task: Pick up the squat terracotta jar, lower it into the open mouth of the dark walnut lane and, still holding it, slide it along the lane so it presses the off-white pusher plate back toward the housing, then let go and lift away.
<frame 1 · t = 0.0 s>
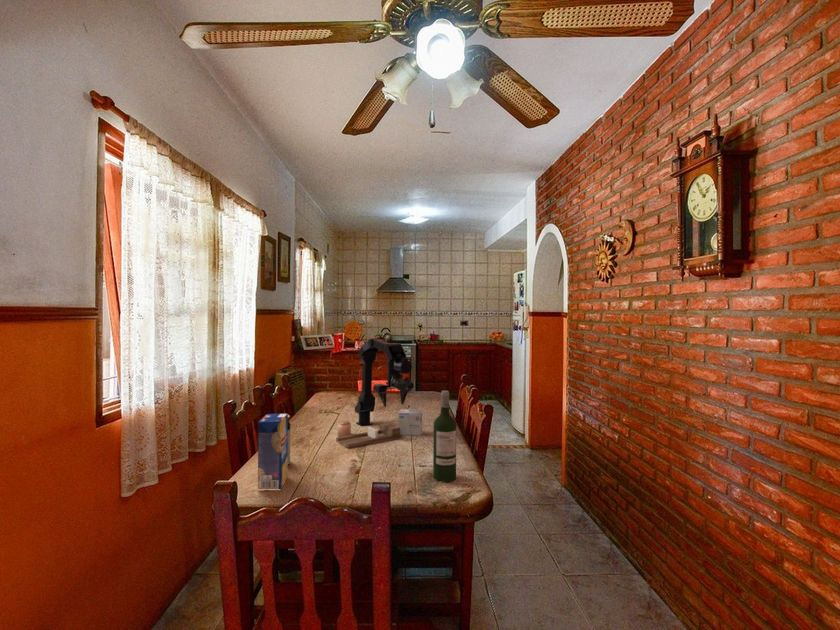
hand: (393, 405, 192), 15 cm above the table, tool pointing down, fingers open, 9 cm apart
white carton: (410, 434, 199), on the table
wine bottle: (444, 478, 146), on the table
lane: (368, 439, 188), on the table
travel mug: (279, 465, 157), on the table
pusher: (372, 433, 189), point 3 cm above the table, slide at 0.0 cm
jar: (344, 435, 195), on the table
beverage box: (273, 484, 140), on the table
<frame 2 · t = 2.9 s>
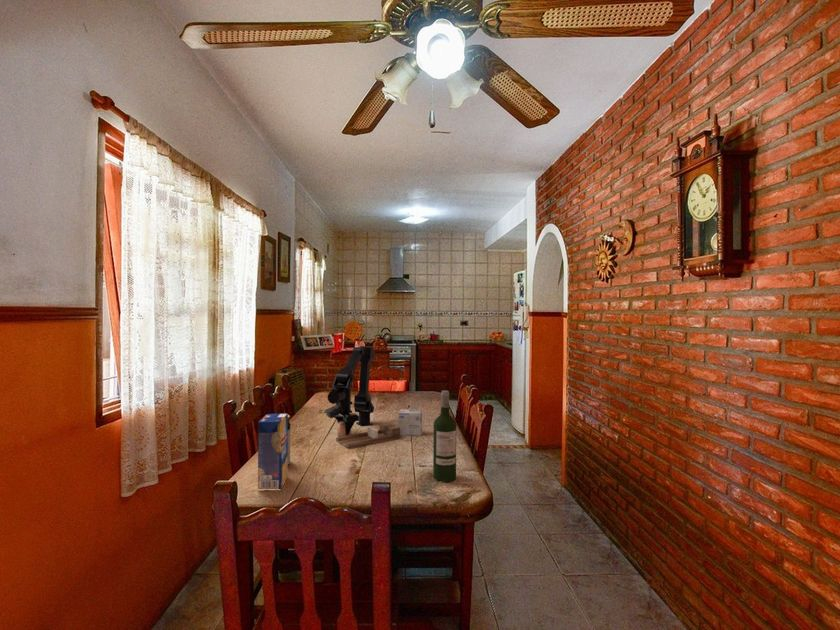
hand: (344, 433, 195), 1 cm above the table, tool pointing down, fingers closed on jar, 6 cm apart
jar: (344, 435, 195), on the table, touching gripper
everything else where it was.
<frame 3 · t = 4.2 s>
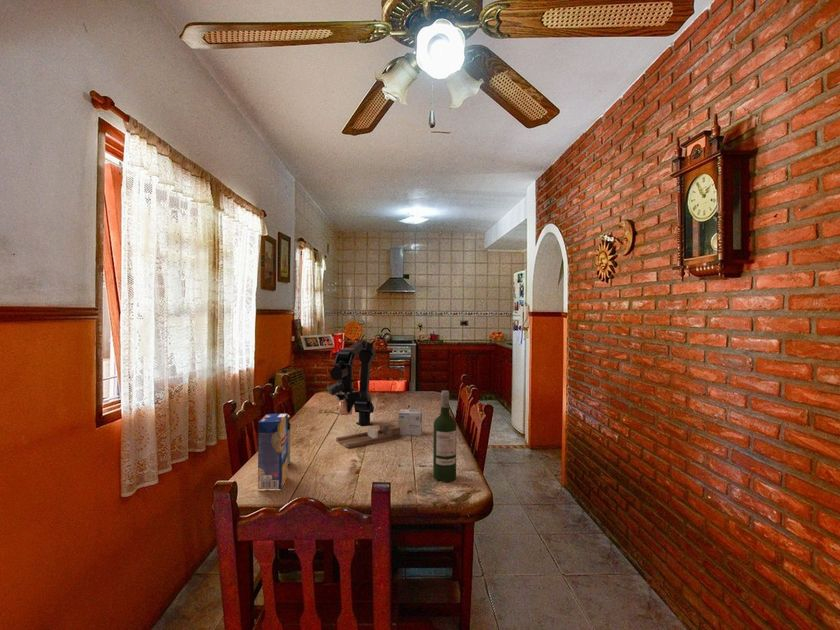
hand: (345, 411, 193), 12 cm above the table, tool pointing down, fingers closed on jar, 6 cm apart
jar: (345, 413, 193), point 11 cm above the table, touching gripper
everything else where it was.
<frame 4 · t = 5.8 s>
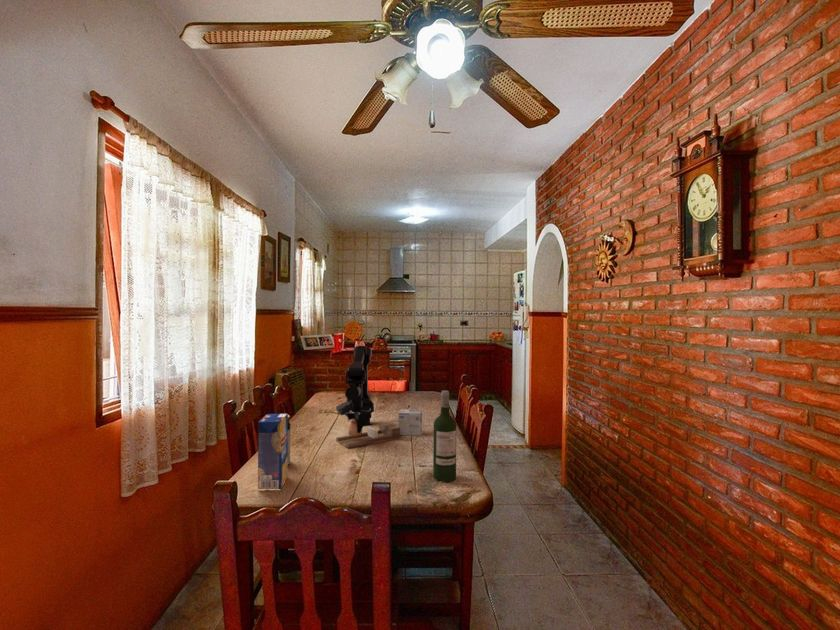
hand: (355, 431, 185), 5 cm above the table, tool pointing down, fingers closed on jar, 6 cm apart
jar: (355, 433, 185), point 4 cm above the table, touching gripper
everything else where it was.
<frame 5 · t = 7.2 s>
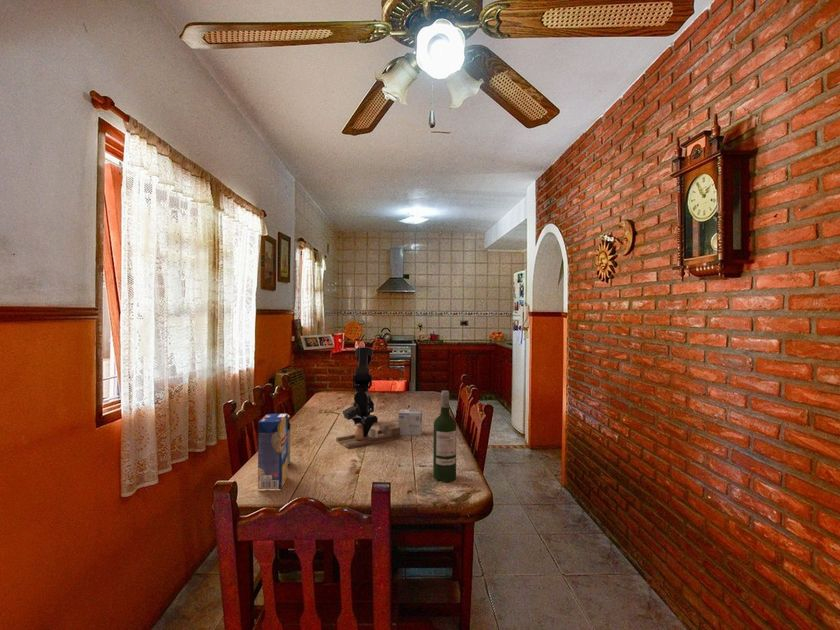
hand: (361, 435, 186), 3 cm above the table, tool pointing down, fingers closed on jar, 6 cm apart
jar: (361, 437, 186), point 2 cm above the table, touching gripper
everything else where it was.
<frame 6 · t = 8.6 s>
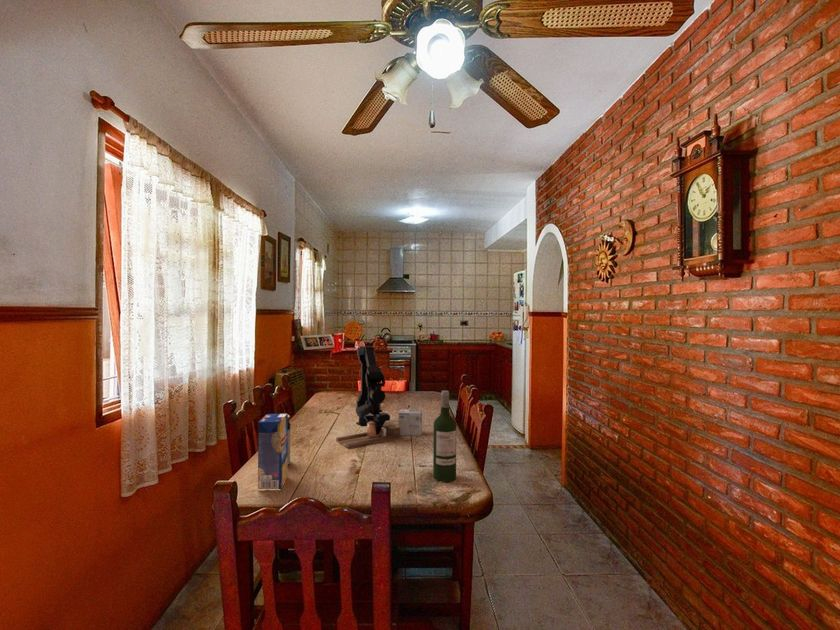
hand: (373, 432, 190), 3 cm above the table, tool pointing down, fingers closed on jar, 6 cm apart
pusher: (380, 431, 192), point 3 cm above the table, slide at 4.3 cm
jar: (373, 435, 190), point 2 cm above the table, touching gripper
everything else where it was.
when the fingers open (3 cm above the table, at t = 9.0 s): jar stays where it is, resting on lane.
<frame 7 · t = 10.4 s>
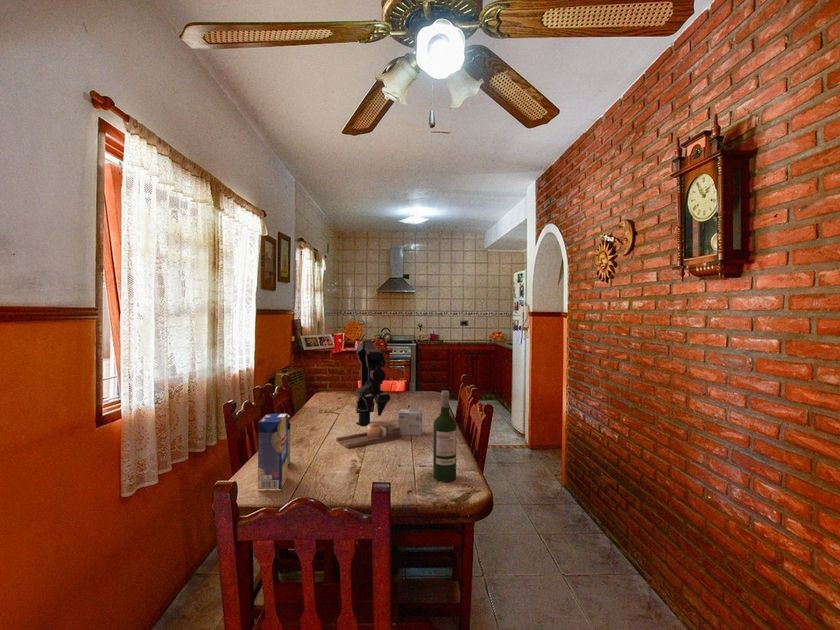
hand: (374, 413, 190), 11 cm above the table, tool pointing down, fingers open, 9 cm apart
jar: (373, 437, 190), point 1 cm above the table, touching lane
everything else where it was.
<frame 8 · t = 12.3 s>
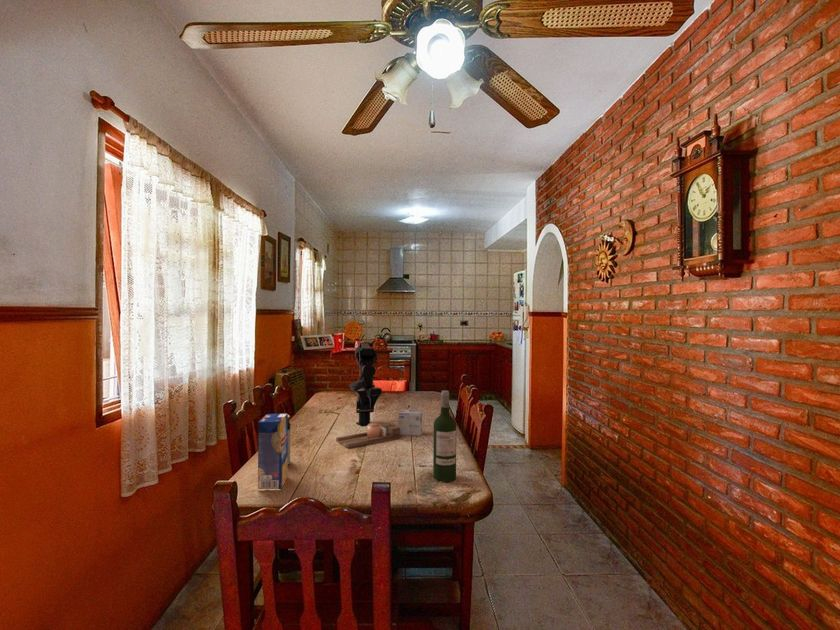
hand: (367, 407, 200), 12 cm above the table, tool pointing down, fingers open, 9 cm apart
nothing on the table moved.
at the end: pusher slide at 4.3 cm; jar inside the target area (0.1 cm from its centre), point 0.6 cm above the table; jar tilted 0° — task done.
